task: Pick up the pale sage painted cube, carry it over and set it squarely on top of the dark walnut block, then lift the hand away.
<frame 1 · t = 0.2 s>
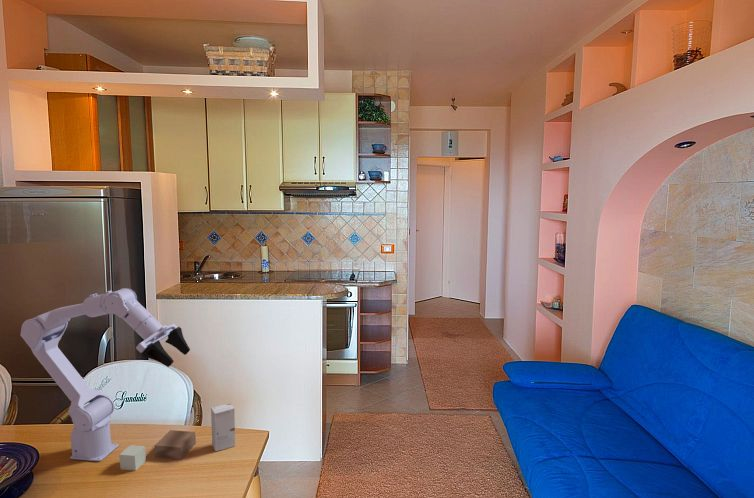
hand: (179, 358, 122), 31 cm above the table, tool tilted 45°, fingers open, 7 cm apart
skincare box: (224, 445, 134), on the table
walnut block: (176, 450, 132), on the table
sage cube: (133, 465, 125), on the table
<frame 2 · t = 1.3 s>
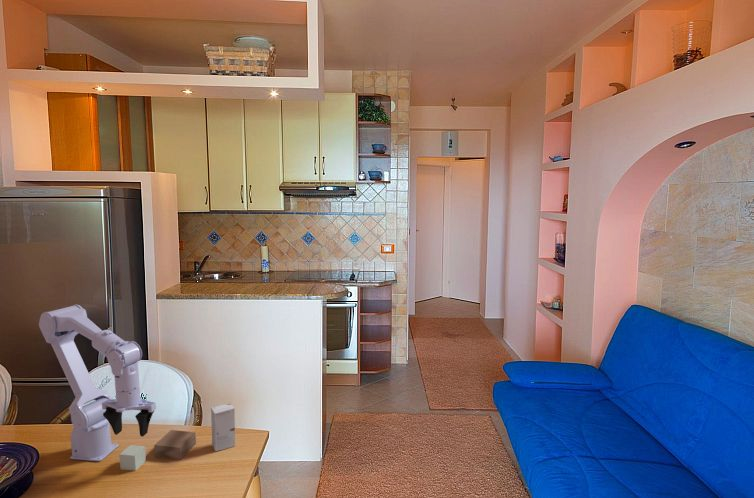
hand: (131, 433, 123), 9 cm above the table, tool pointing down, fingers open, 7 cm apart
nothing on the table moved.
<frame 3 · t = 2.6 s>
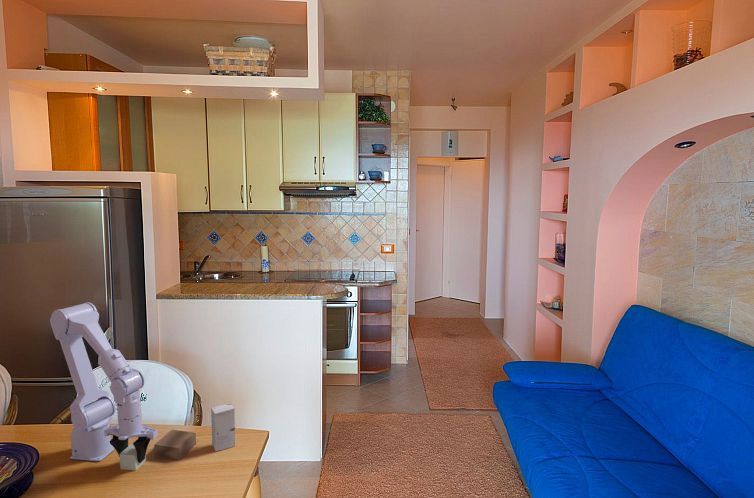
hand: (133, 460, 124), 1 cm above the table, tool pointing down, fingers closed on sage cube, 4 cm apart
sage cube: (133, 464, 125), on the table, touching gripper
everything else where it was.
when the fingers open (6 cm above the table, at t = 5.3 s): sage cube drops 1 cm, resting on walnut block.
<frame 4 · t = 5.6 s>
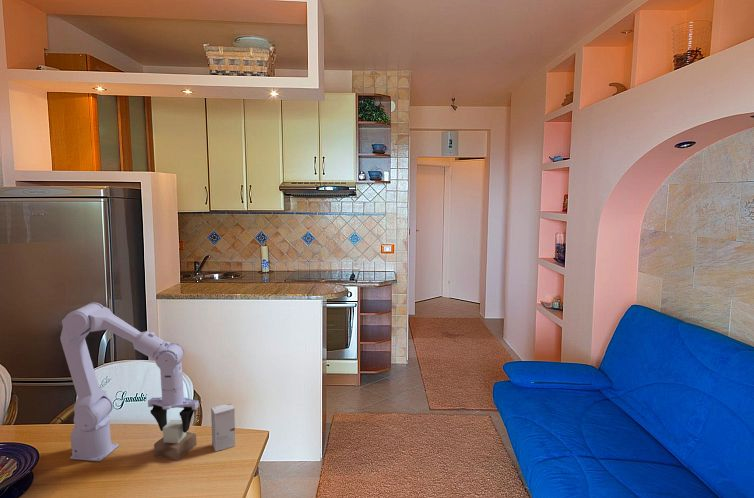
hand: (174, 429, 131), 6 cm above the table, tool pointing down, fingers open, 6 cm apart
walnut block: (176, 451, 132), on the table, touching sage cube
sage cube: (175, 438, 131), point 4 cm above the table, touching walnut block
everything else where it was.
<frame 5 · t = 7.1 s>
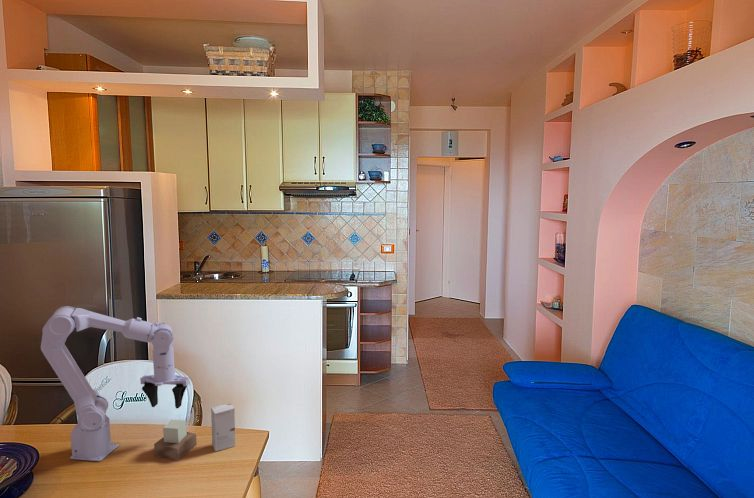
hand: (166, 406, 136), 10 cm above the table, tool pointing down, fingers open, 7 cm apart
walnut block: (176, 451, 132), on the table
sage cube: (175, 438, 131), point 4 cm above the table
everything else where it was.
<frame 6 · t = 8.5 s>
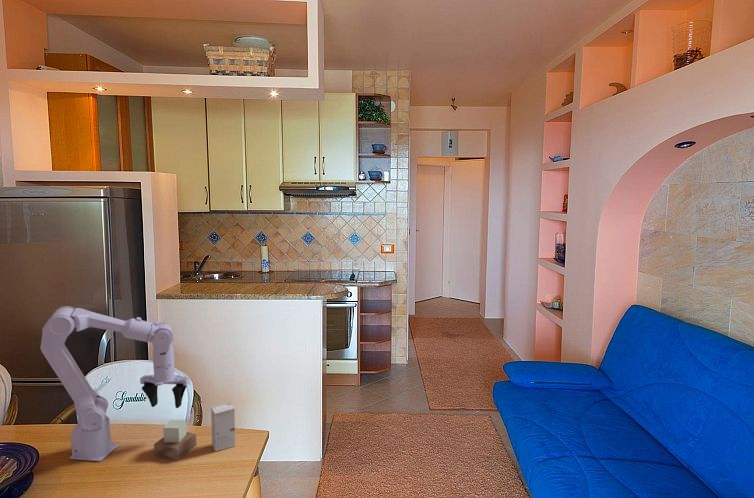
hand: (166, 405, 137), 10 cm above the table, tool pointing down, fingers open, 7 cm apart
nothing on the table moved.
at the end: sage cube 0.4 cm off-centre on the walnut block, point 4.0 cm above the walnut block's base; sage cube tilted 0°; the gripper is holding nothing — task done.
